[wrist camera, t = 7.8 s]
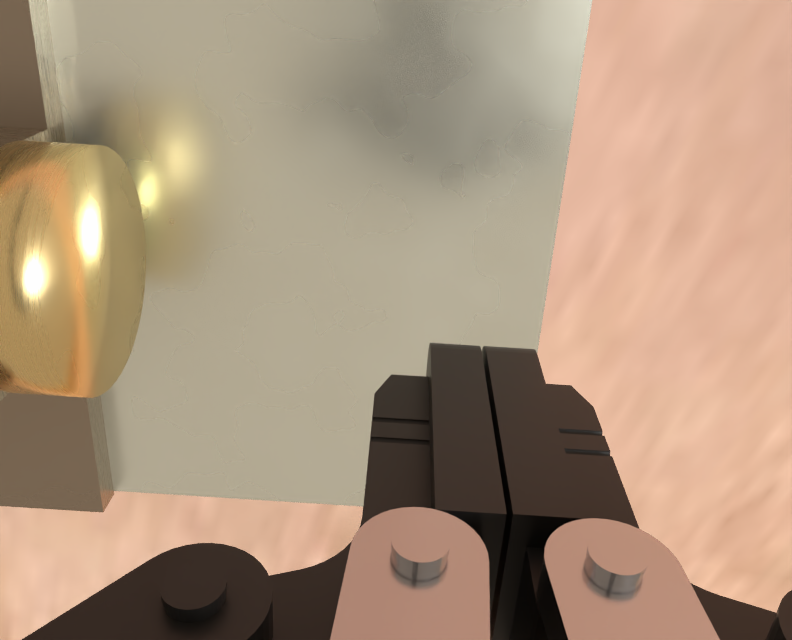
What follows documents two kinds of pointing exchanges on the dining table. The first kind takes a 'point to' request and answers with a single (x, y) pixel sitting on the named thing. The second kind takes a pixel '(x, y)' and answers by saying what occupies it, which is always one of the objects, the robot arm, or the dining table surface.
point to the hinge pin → (68, 268)
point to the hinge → (291, 222)
